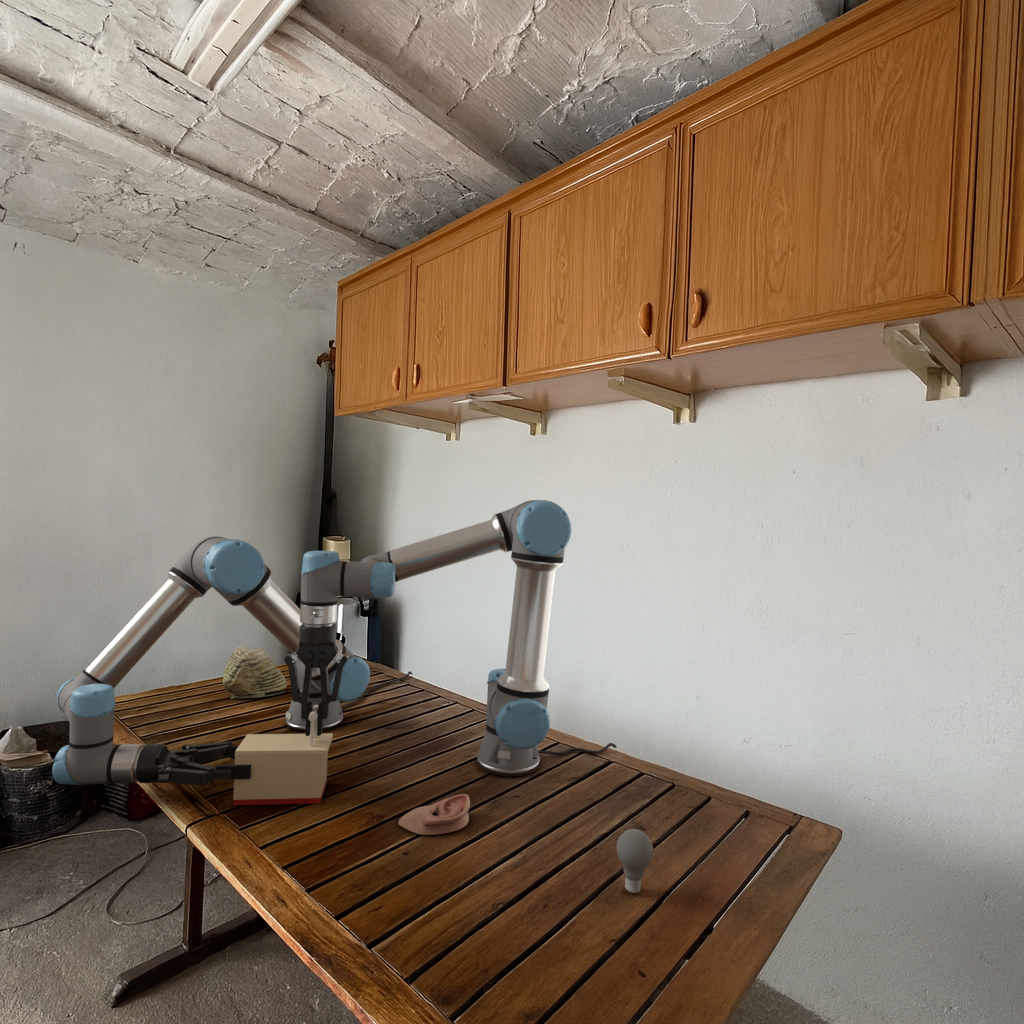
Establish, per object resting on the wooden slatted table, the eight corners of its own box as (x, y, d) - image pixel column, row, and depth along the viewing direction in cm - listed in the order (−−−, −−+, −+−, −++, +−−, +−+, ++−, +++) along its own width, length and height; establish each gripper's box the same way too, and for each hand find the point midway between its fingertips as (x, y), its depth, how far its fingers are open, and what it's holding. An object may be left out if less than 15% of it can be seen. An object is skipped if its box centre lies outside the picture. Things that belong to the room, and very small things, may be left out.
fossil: (218, 695, 195) (220, 647, 195) (278, 685, 208) (279, 640, 207) (228, 703, 189) (230, 653, 188) (289, 692, 201) (290, 645, 201)
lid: (333, 737, 140) (334, 702, 140) (327, 754, 131) (328, 716, 131) (247, 738, 137) (248, 702, 137) (235, 755, 128) (236, 716, 128)
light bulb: (610, 879, 108) (613, 822, 108) (644, 879, 109) (647, 822, 109) (619, 902, 102) (622, 840, 102) (655, 901, 103) (658, 840, 103)
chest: (326, 783, 140) (328, 737, 140) (320, 803, 131) (322, 754, 131) (245, 784, 138) (247, 738, 137) (232, 805, 128) (234, 755, 128)
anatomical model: (392, 810, 121) (414, 784, 132) (391, 830, 121) (413, 803, 132) (459, 820, 118) (475, 792, 130) (458, 841, 118) (474, 812, 130)
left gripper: (162, 759, 141) (268, 758, 144) (116, 807, 119) (241, 804, 123) (163, 726, 141) (269, 725, 144) (117, 768, 119) (243, 765, 122)
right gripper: (278, 626, 130) (274, 740, 130) (351, 627, 132) (347, 739, 132) (286, 619, 137) (281, 727, 138) (355, 620, 139) (351, 727, 140)
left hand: (256, 761), depth 133 cm, fingers closed on chest, 9 cm apart
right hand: (314, 733), depth 135 cm, fingers closed on lid, 2 cm apart
